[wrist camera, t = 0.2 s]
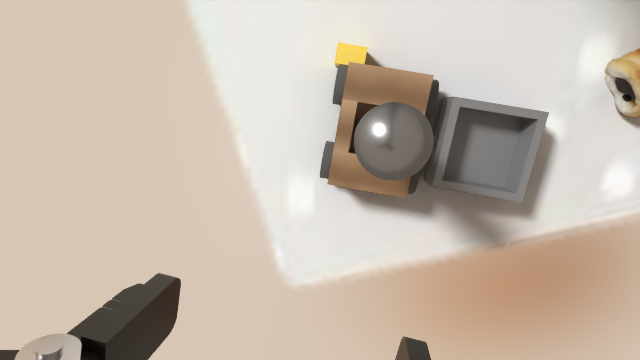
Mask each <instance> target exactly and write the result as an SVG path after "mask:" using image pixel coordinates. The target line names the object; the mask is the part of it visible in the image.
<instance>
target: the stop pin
mask: <svg viewBox="0 0 640 360" xmlns="http://www.w3.org/2000/svg"><path fill="white" fill-rule="evenodd" d="M433 145H434V136H433V130H432V127H431V125H430V123H429V121H428V119H427V118H426V116H425V115H424V114H423V113H422V112H421V111H420V110H418V109H417V108H415V107H413V106H411V105H409V104H406V103H401V102H389V103H385V104H381V105H379V106H376V107H374V108H373V109H371V110H370V111H368V112H367V113H366V114H365V115H364V116H363V117H362V119H361V120H360V122H359V124H358V126H357V128H356V131H355V136H354V147H355V152H356V156H357V158H358V160H359V162H360V164H361V165H362V166H363V168H364V169H365V170H366V171H367V172H369V173H370V174H372V175H373V176H375V177H377V178H380V179H383V180H389V181H396V180H402V179H406V178H408V177H411V176H413V175H414V174H416V173H417V172H419V171H420V170H421V169H422V168H423V167H424V166H425V164H426V163H427V161H428V160H429V158H430V156H431V153H432V150H433Z"/></svg>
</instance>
